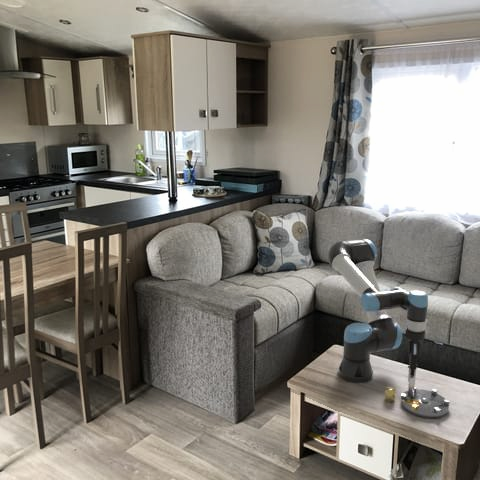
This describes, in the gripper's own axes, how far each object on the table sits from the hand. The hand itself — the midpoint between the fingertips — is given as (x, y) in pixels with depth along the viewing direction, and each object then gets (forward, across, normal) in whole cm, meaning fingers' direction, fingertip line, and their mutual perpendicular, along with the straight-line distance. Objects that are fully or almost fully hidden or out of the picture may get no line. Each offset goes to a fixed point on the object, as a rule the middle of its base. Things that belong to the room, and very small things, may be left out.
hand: (411, 381), depth 210 cm
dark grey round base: (+6, +8, +5) cm, 11 cm away
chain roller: (+6, +7, -8) cm, 13 cm away
